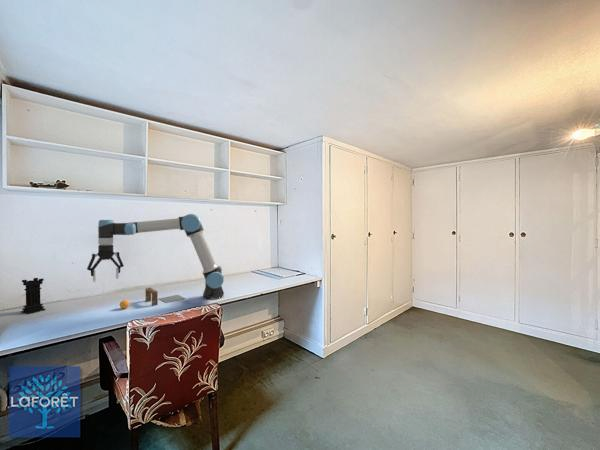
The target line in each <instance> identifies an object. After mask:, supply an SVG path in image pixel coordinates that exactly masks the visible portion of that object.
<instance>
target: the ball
mask: <svg viewBox="0 0 600 450" xmlns="http://www.w3.org/2000/svg"><path fill="white" fill-rule="evenodd" d="M130 303H131V302H130V301H129V300H127V299H123V300H121V301H120V302H119V307H120V308H121V309H124V310H125V309H128V308H129V306H131V305H130Z"/></svg>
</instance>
